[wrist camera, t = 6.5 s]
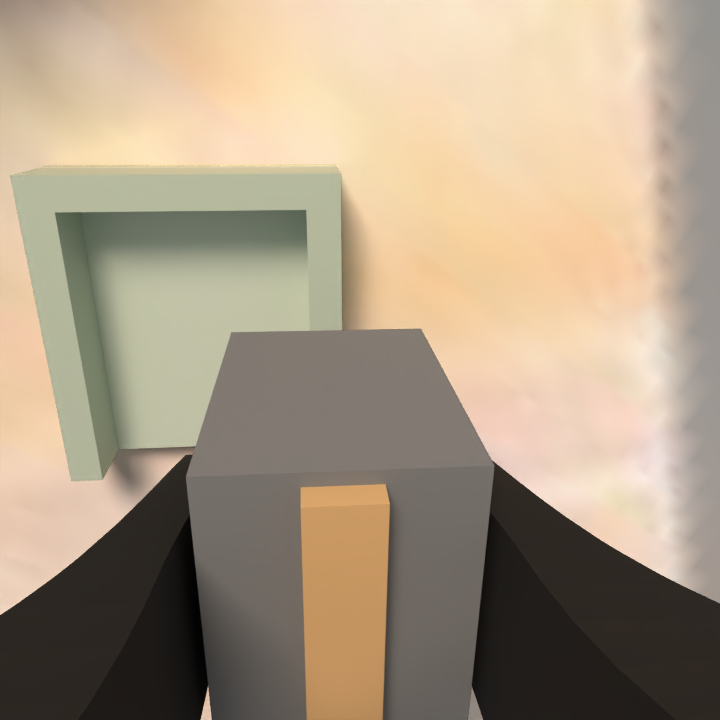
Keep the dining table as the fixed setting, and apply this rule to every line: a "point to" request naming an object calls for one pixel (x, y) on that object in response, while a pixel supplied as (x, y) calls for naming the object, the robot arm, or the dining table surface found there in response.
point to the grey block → (338, 529)
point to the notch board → (168, 287)
